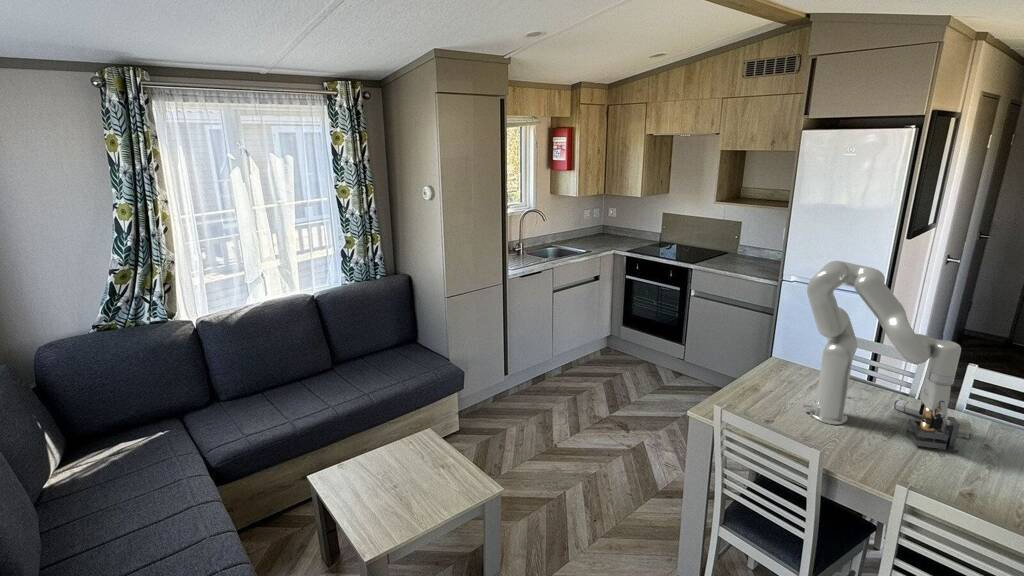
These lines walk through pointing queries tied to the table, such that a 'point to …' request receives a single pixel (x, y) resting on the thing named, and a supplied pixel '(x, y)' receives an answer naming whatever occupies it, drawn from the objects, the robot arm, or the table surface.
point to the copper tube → (927, 421)
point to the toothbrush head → (964, 426)
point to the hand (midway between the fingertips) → (929, 421)
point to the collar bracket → (935, 435)
